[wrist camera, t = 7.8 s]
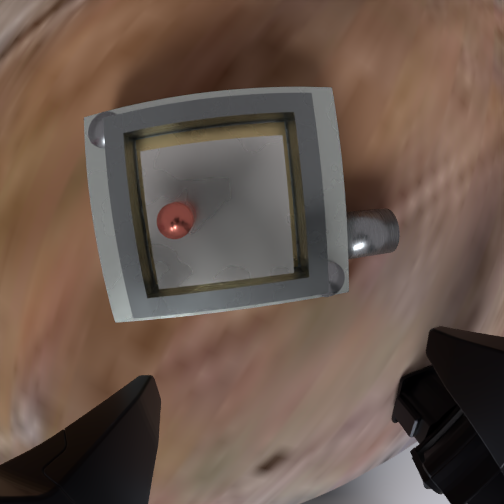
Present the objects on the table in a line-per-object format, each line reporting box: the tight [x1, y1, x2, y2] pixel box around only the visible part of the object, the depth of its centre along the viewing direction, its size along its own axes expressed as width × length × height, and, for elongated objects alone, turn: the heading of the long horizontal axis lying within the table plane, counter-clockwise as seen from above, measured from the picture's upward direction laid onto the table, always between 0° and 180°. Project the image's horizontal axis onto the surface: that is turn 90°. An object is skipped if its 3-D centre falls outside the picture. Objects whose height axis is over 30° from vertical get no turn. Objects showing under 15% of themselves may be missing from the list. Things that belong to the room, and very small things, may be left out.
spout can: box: [140, 135, 294, 289], centre depth 11 cm, size 4×4×7 cm
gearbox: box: [84, 87, 399, 322], centre depth 16 cm, size 18×12×6 cm, turn 96°
